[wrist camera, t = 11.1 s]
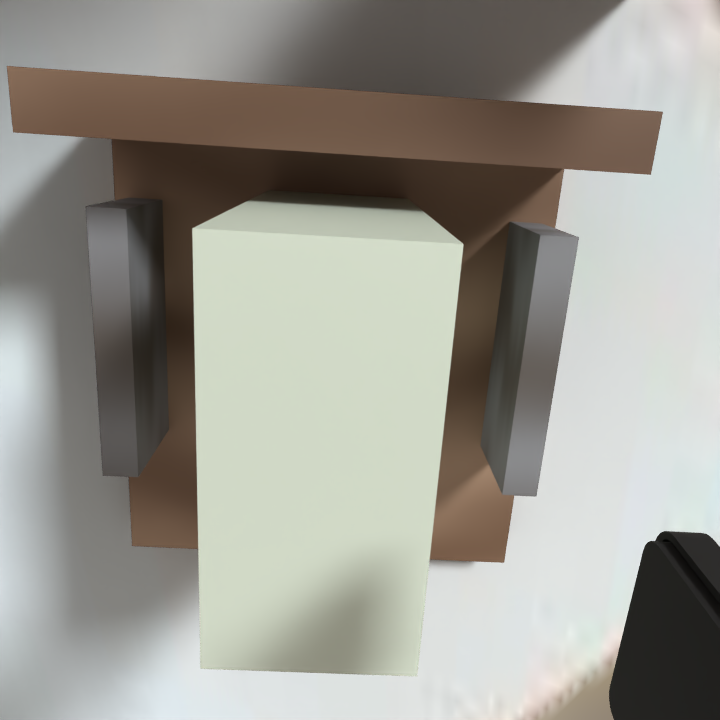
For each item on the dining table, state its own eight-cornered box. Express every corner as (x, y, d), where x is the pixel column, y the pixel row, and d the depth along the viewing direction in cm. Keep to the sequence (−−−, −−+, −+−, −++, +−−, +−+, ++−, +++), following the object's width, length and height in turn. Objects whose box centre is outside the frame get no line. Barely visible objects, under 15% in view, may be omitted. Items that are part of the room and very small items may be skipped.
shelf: (123, 95, 24) (6, 65, 16) (558, 124, 24) (662, 112, 16) (142, 526, 29) (63, 671, 21) (496, 542, 30) (551, 689, 22)
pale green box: (268, 190, 23) (192, 228, 12) (407, 198, 23) (463, 244, 12) (264, 444, 26) (200, 669, 15) (387, 450, 27) (416, 676, 15)
